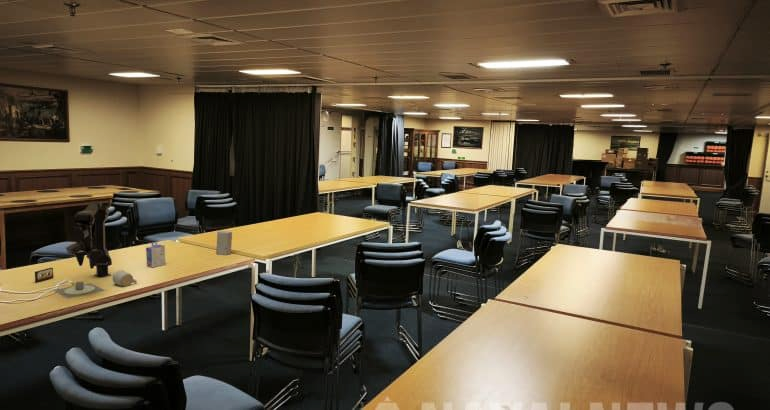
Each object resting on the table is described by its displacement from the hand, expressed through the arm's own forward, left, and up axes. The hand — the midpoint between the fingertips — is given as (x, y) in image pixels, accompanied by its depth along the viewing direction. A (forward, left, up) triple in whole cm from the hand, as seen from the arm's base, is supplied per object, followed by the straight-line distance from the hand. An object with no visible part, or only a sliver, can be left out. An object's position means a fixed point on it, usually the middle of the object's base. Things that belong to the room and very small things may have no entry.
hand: (86, 267), depth 237 cm
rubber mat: (-2, -3, -12) cm, 13 cm away
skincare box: (-18, +94, -13) cm, 97 cm away
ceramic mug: (+3, +18, -13) cm, 22 cm away
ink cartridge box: (-21, +47, -13) cm, 53 cm away
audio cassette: (-33, -8, -13) cm, 36 cm away
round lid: (-2, -3, -12) cm, 12 cm away
